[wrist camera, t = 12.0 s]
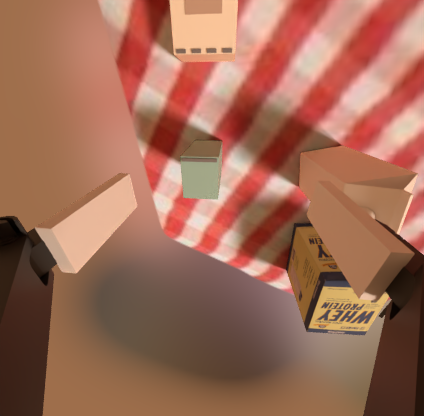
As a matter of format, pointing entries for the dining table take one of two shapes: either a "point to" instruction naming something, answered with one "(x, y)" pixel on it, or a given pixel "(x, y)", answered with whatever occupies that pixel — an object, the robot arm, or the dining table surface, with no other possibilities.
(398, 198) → the milk carton
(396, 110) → the dining table surface
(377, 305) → the protein box
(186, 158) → the pale green block
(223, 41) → the block
